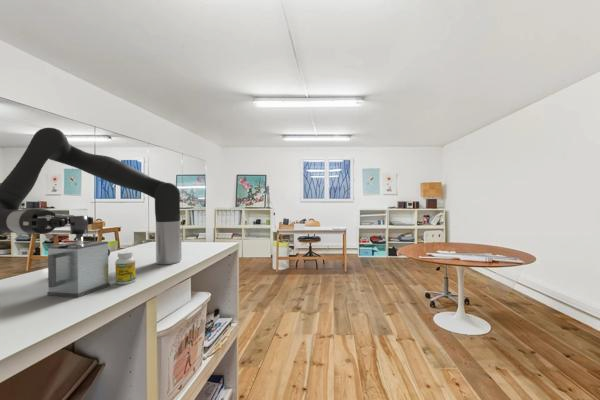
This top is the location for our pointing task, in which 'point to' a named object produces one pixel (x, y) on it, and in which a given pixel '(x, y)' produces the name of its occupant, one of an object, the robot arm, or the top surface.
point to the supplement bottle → (125, 268)
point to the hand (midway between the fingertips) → (78, 221)
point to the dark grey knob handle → (79, 227)
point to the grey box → (77, 268)
